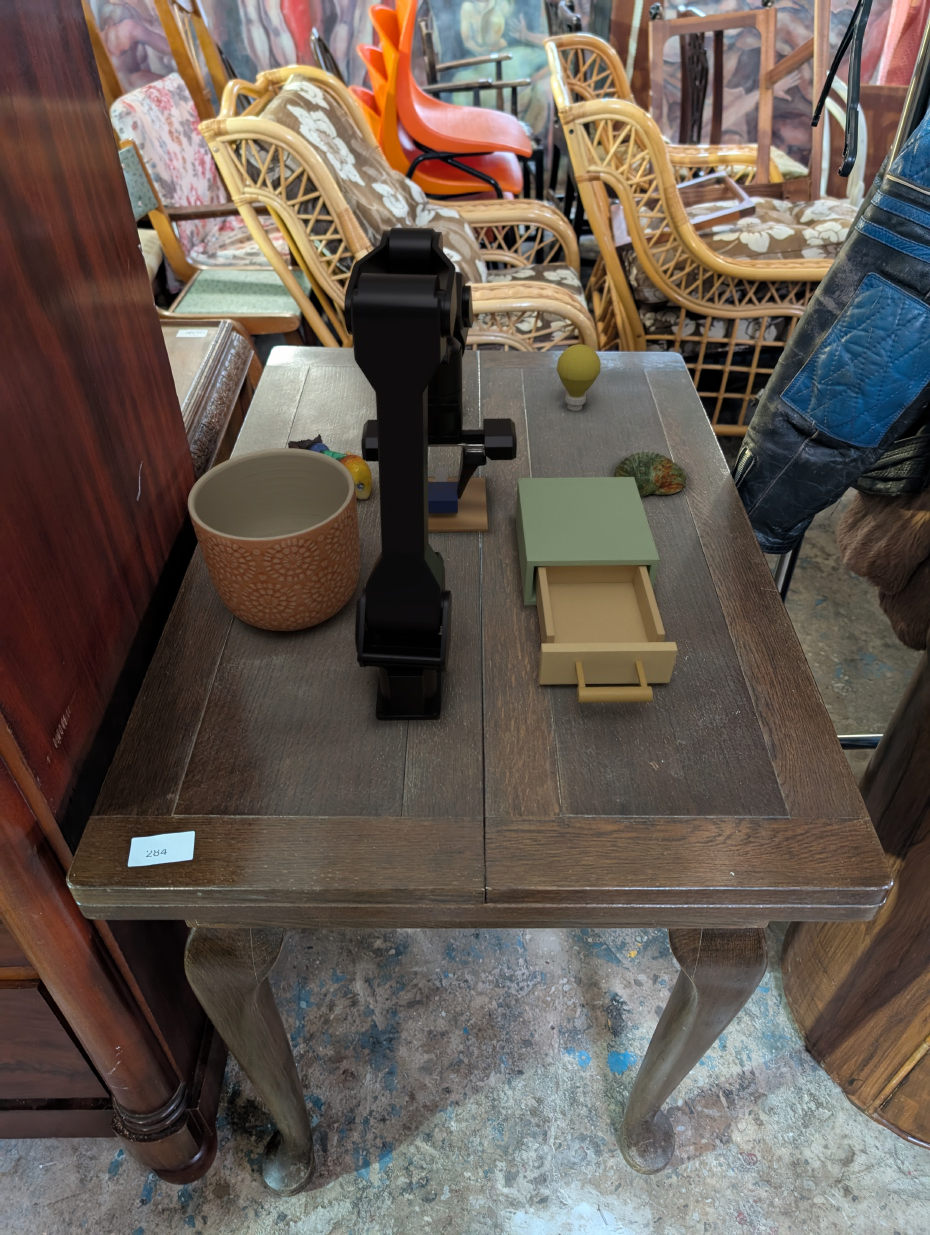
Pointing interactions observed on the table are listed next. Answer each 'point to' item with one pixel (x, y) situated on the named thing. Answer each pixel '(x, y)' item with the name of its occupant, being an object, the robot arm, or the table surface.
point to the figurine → (351, 462)
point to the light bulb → (578, 373)
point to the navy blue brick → (442, 493)
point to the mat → (463, 510)
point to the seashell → (652, 473)
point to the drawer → (601, 631)
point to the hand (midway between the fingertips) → (441, 497)
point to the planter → (279, 536)
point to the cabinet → (581, 526)
